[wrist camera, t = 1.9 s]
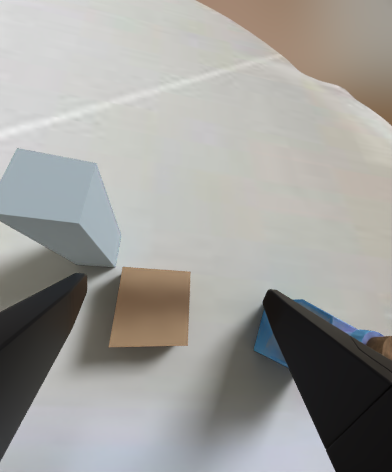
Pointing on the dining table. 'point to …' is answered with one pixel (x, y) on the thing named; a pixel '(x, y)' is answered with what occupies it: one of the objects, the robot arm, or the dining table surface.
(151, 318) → the walnut plinth
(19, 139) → the dining table surface
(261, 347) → the perfume bottle
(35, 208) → the slate-blue post
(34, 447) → the dining table surface
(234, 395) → the dining table surface
